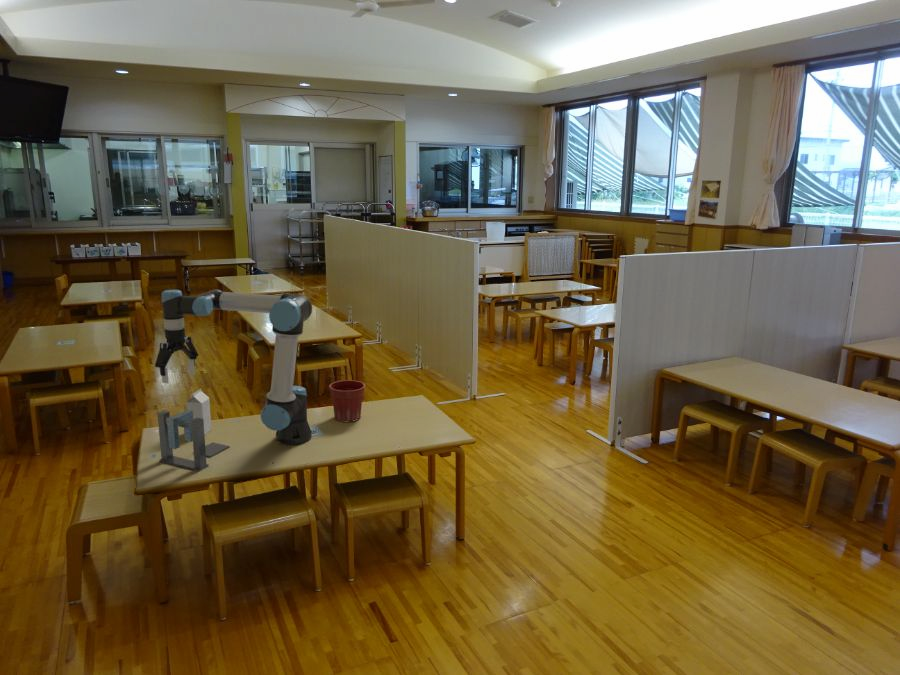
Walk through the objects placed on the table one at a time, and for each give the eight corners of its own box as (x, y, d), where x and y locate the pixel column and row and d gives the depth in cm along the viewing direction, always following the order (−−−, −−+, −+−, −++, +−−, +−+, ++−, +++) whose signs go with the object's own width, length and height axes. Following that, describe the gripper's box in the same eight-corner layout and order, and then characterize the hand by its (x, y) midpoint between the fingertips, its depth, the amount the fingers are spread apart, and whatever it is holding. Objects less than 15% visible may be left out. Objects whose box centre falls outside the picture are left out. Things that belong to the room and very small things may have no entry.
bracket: (189, 438, 254) (186, 409, 251) (194, 439, 253) (192, 411, 250) (169, 447, 245) (166, 418, 242) (175, 449, 244) (172, 419, 241)
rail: (208, 466, 250) (205, 417, 245) (199, 471, 245) (195, 422, 240) (169, 456, 257) (165, 409, 252) (159, 461, 253) (155, 413, 248)
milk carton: (211, 429, 285) (208, 389, 280) (204, 436, 278) (201, 394, 273) (196, 428, 286) (193, 388, 281) (188, 435, 279) (185, 393, 274)
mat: (229, 447, 267) (229, 446, 267) (210, 457, 257) (210, 456, 257) (212, 443, 270) (212, 442, 270) (193, 453, 261) (193, 452, 260)
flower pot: (339, 409, 313) (338, 378, 309) (370, 413, 309) (370, 382, 305) (324, 421, 298) (323, 388, 294) (356, 426, 294) (356, 392, 290)
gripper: (191, 321, 272) (195, 369, 277) (141, 333, 250) (147, 385, 255) (204, 323, 269) (208, 371, 274) (155, 335, 247) (160, 388, 252)
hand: (178, 378), depth 265 cm, fingers open, 13 cm apart
